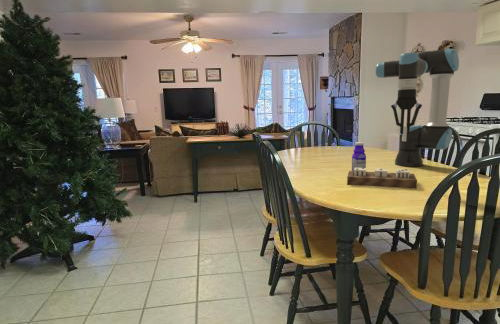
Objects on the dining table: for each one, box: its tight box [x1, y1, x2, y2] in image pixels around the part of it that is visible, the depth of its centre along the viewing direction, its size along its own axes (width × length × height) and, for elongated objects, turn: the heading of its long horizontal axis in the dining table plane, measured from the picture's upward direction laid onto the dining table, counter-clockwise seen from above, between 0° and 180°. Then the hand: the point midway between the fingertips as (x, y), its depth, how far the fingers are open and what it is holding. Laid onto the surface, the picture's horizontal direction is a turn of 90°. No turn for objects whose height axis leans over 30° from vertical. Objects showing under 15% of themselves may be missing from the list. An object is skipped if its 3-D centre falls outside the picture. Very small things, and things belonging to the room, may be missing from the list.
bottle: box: [351, 141, 367, 171], centre depth 176 cm, size 7×6×17 cm
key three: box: [395, 168, 411, 178], centre depth 155 cm, size 5×6×6 cm
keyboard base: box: [346, 170, 418, 190], centre depth 158 cm, size 30×13×4 cm, turn 70°
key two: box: [354, 167, 367, 176], centre depth 161 cm, size 5×6×6 cm
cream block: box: [374, 167, 388, 177], centre depth 158 cm, size 5×6×6 cm
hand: (404, 140), depth 153 cm, fingers closed
